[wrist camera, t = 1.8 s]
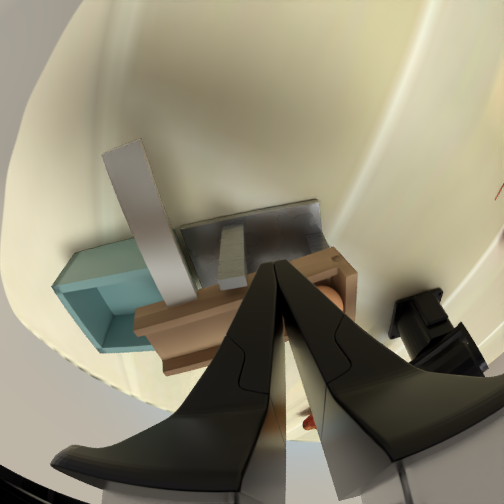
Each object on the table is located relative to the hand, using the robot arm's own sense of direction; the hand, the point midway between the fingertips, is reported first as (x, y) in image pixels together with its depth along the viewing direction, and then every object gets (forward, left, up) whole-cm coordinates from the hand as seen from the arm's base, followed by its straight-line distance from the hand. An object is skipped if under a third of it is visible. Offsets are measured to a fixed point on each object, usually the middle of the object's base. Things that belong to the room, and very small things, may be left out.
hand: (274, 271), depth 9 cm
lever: (-3, +3, -7) cm, 8 cm away
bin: (-8, +13, -13) cm, 20 cm away
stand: (-8, +1, -13) cm, 15 cm away
